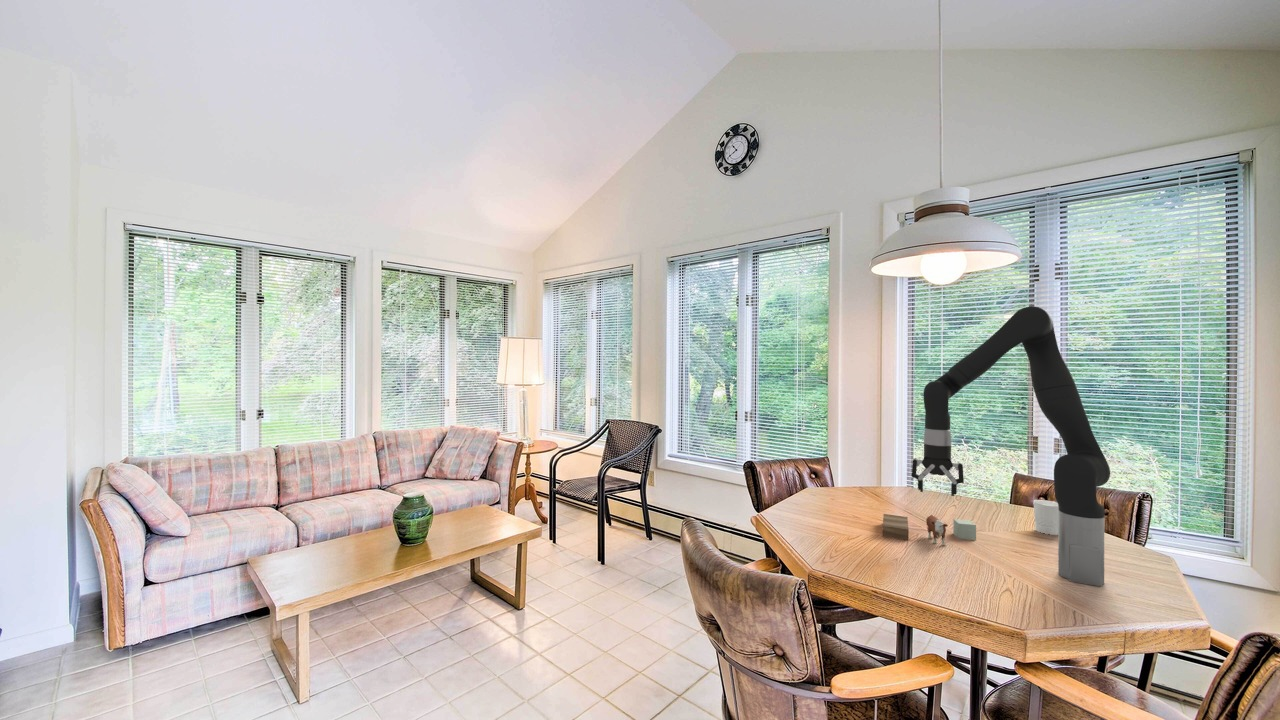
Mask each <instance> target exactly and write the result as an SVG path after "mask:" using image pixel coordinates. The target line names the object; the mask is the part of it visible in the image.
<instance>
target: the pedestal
mask: <svg viewBox="0 0 1280 720" xmlns="http://www.w3.org/2000/svg"><path fill="white" fill-rule="evenodd" d="M882 516H883V518H882V519H883V520H882V537H883V538H887V539H894V540H895V539H896V540H900V541H907V542H909V529H910V528H909V518H908V516H902V515H896V514H895V515H894V514H888V513H883V515H882Z"/></svg>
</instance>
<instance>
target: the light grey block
mask: <svg viewBox="0 0 1280 720" xmlns="http://www.w3.org/2000/svg"><path fill="white" fill-rule="evenodd" d="M1058 513H1059V509H1058V503H1057V501H1053V500H1046V499H1035V500H1033V514H1034V522H1035V525H1034V526H1035V530H1036V532H1038V533H1040V532H1041V534H1043V533H1045V534H1044V535H1048V534H1050V535H1049V536H1058Z"/></svg>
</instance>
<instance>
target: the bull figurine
mask: <svg viewBox="0 0 1280 720" xmlns="http://www.w3.org/2000/svg"><path fill="white" fill-rule="evenodd" d="M925 520H926V526H927V533H928V535H927V538H928V540H932V535H933V541H932V544H934V545H936V544H938V543H937V539H939V538H941V541H942V542H941V545H942V547H946V542H945V540H946V532H947V527H948V526H949V525H948V524H947V523H944V522H943V521H942V520H940V519H938V518H937V517H936V516H934V515H932V514H930V515H929V516H927V517H926V519H925ZM931 533H932V535H931Z"/></svg>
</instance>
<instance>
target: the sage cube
mask: <svg viewBox="0 0 1280 720" xmlns="http://www.w3.org/2000/svg"><path fill="white" fill-rule="evenodd" d="M952 521H953V526H952V527H953V535H954V536H955V537H956V538H957V539H958V540H959V539H961V540H971V541H977V524H976V523H974V522H973V521H972V520H969V519H960V518H959V519H955V518H954V519H953V520H952Z"/></svg>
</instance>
